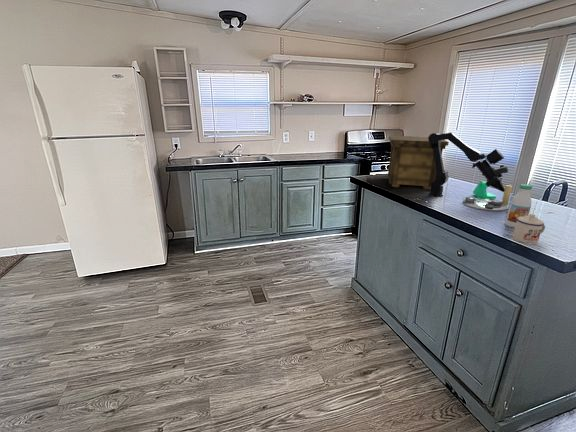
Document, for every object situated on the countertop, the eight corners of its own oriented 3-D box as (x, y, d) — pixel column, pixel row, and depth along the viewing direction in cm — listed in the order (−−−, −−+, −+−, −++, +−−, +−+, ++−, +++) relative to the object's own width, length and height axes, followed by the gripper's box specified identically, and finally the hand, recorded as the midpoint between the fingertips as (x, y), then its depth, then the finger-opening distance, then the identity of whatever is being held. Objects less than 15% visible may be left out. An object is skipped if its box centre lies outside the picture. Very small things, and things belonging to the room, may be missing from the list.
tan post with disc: (488, 208, 164) (493, 188, 160) (477, 204, 170) (481, 185, 167) (511, 206, 168) (517, 187, 164) (500, 202, 174) (505, 184, 171)
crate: (384, 177, 244) (389, 135, 233) (431, 180, 235) (438, 137, 224) (385, 187, 212) (391, 139, 201) (439, 191, 204) (448, 141, 193)
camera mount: (496, 200, 185) (500, 184, 182) (483, 200, 185) (487, 183, 182) (484, 195, 197) (487, 179, 193) (472, 195, 197) (475, 179, 193)
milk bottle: (501, 223, 147) (511, 183, 140) (515, 223, 148) (527, 183, 141) (513, 229, 140) (525, 187, 133) (528, 228, 141) (541, 187, 134)
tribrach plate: (482, 212, 163) (483, 206, 162) (453, 200, 183) (454, 195, 182) (516, 210, 167) (518, 204, 166) (485, 199, 187) (486, 194, 186)
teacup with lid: (523, 245, 123) (531, 218, 120) (506, 236, 132) (513, 210, 128) (550, 244, 125) (559, 217, 121) (531, 235, 133) (539, 210, 129)
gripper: (498, 162, 161) (518, 186, 158) (502, 158, 175) (520, 180, 172) (478, 175, 168) (496, 197, 166) (483, 170, 182) (500, 191, 179)
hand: (504, 191), depth 170 cm, fingers closed
